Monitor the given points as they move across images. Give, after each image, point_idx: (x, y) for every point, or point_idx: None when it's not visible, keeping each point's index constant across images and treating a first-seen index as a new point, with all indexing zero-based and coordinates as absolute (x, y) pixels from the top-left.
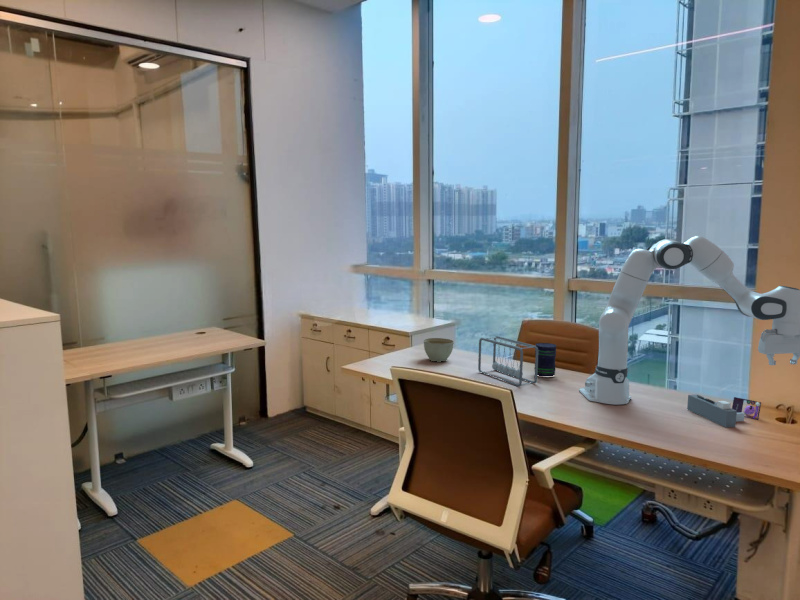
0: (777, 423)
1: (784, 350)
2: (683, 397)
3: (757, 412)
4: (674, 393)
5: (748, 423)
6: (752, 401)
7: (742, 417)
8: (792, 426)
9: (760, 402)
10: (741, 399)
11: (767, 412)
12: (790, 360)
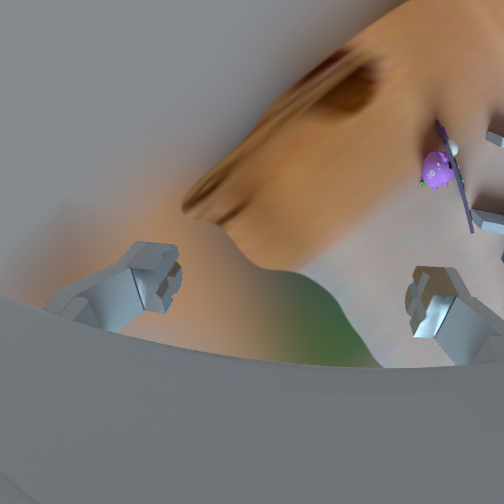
0: (401, 67)
1: (395, 422)
2: (431, 338)
3: (445, 131)
4: (417, 361)
5: (490, 109)
6: (458, 170)
7: (498, 135)
8: (372, 27)
9: (447, 143)
10: (466, 209)
11: (324, 173)
12: (170, 299)
